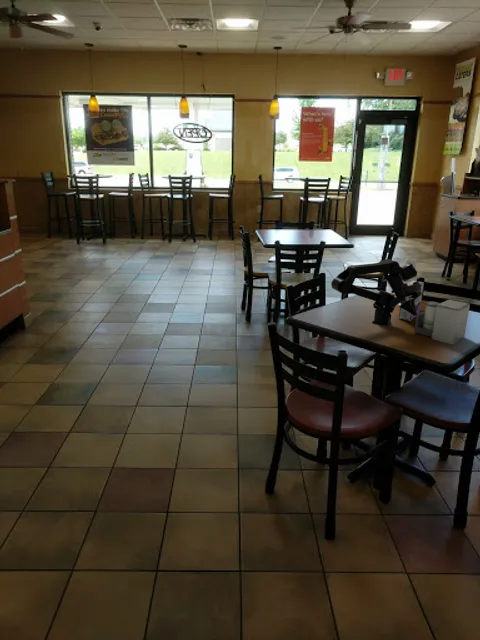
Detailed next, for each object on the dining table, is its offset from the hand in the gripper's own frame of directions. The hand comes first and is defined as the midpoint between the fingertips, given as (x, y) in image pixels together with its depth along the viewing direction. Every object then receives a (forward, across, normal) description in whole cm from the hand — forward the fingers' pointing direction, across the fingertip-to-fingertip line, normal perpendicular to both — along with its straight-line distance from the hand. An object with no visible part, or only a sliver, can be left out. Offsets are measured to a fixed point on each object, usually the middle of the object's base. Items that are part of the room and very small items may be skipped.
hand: (415, 315), depth 210 cm
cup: (+8, +1, -1) cm, 8 cm away
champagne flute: (-10, +32, +21) cm, 40 cm away
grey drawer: (+9, +1, 0) cm, 9 cm away
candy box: (-2, +16, +13) cm, 20 cm away
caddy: (+15, +1, -6) cm, 16 cm away
